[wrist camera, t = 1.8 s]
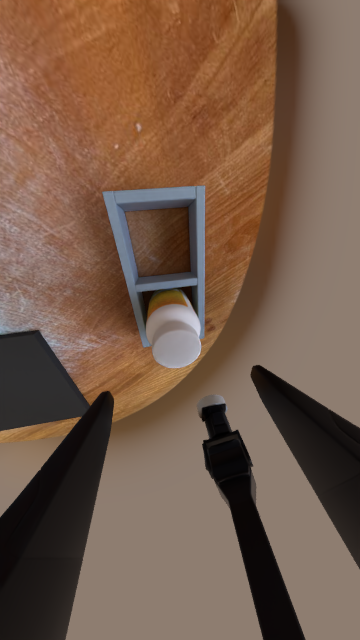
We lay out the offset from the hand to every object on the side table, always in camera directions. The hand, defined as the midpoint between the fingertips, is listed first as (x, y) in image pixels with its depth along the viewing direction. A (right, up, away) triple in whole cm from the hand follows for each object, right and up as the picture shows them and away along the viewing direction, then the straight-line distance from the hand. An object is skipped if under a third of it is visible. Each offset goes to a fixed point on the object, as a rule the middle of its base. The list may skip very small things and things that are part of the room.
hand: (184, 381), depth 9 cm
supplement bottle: (-2, +6, +11) cm, 13 cm away
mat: (-28, -7, +14) cm, 32 cm away
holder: (-2, +9, +9) cm, 13 cm away
